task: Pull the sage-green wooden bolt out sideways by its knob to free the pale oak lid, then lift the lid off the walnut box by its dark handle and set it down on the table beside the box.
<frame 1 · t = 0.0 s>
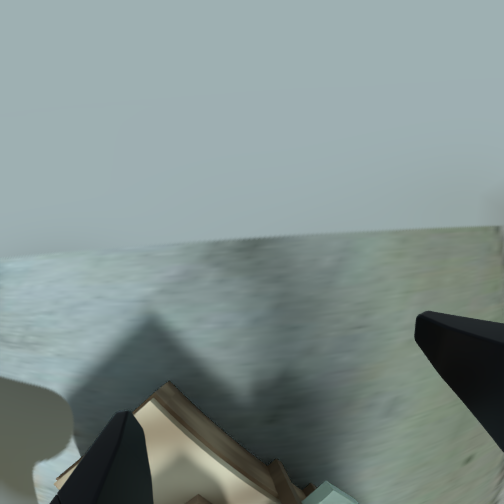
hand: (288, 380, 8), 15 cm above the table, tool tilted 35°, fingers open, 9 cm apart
box: (193, 489, 18), on the table
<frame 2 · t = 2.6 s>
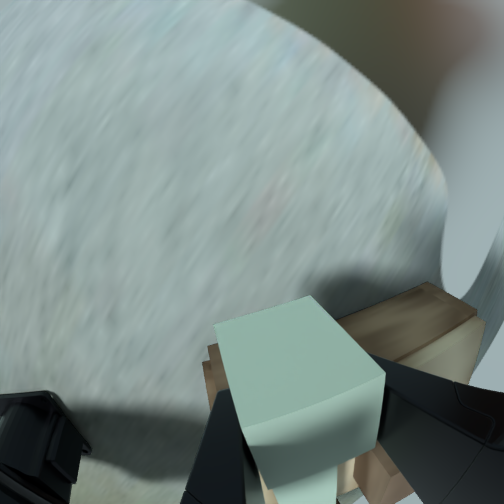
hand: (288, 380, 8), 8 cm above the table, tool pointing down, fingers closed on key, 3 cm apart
key: (311, 502, 10), point 8 cm above the table, slide at 0.0 cm, touching gripper
box: (336, 388, 19), on the table
lid: (369, 435, 15), point 5 cm above the table, touching box
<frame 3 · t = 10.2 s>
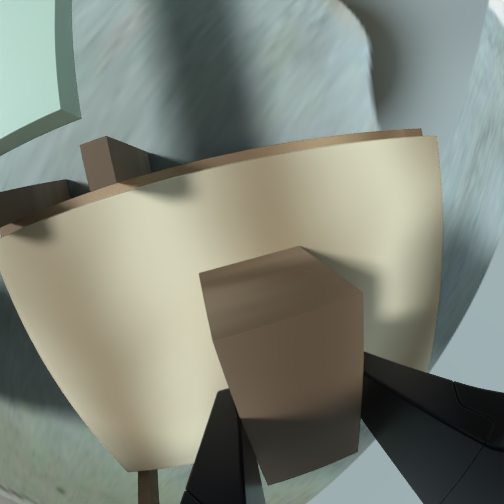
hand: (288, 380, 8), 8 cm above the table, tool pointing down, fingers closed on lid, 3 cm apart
box: (235, 278, 15), on the table
lid: (260, 328, 11), point 5 cm above the table, touching box, gripper
when the fingers open (5 cm above the table, at t = 13.9 s): lid drops 2 cm, on the table.
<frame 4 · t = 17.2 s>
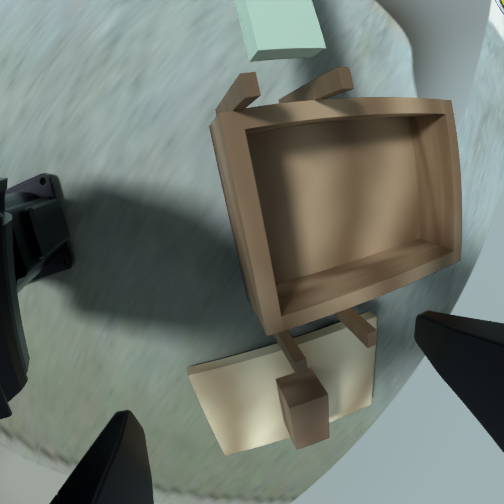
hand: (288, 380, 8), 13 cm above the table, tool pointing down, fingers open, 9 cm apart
supplement bottle: (500, 4, 19), on the table
box: (338, 192, 21), on the table
lid: (292, 390, 24), on the table
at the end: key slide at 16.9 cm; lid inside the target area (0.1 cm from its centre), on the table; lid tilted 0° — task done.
